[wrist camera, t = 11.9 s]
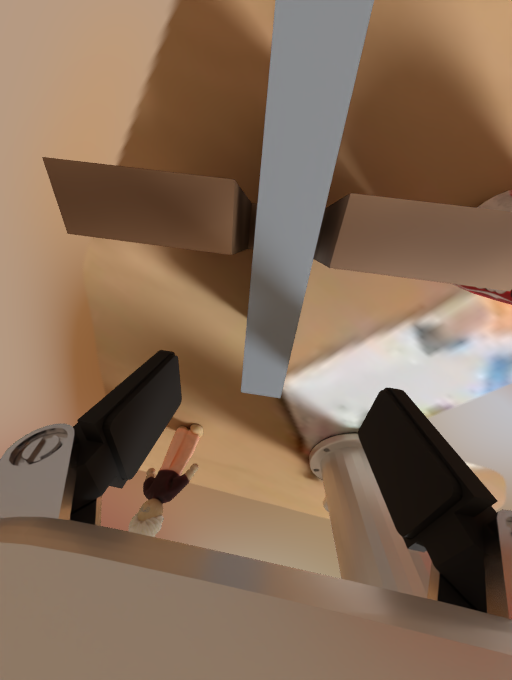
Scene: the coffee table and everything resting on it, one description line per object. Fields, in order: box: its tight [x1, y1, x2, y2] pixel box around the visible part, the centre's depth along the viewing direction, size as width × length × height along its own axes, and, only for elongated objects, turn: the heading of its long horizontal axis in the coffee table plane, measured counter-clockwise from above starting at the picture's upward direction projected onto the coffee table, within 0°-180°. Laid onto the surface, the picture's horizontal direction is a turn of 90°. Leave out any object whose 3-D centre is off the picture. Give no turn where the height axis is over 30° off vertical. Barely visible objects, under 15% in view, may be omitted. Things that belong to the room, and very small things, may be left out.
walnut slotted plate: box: [43, 157, 512, 291], centre depth 11 cm, size 2×18×10 cm, turn 84°
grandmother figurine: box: [129, 424, 203, 537], centre depth 25 cm, size 8×4×13 cm, turn 119°
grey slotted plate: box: [241, 0, 374, 398], centre depth 12 cm, size 16×2×10 cm, turn 174°
